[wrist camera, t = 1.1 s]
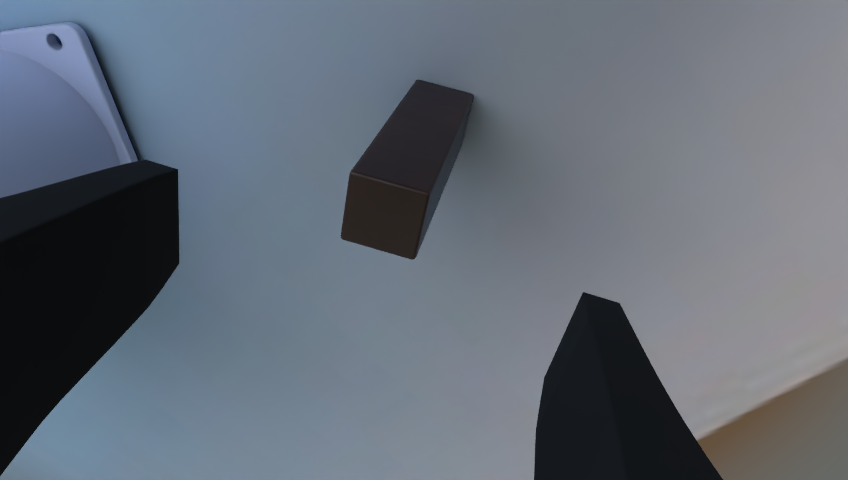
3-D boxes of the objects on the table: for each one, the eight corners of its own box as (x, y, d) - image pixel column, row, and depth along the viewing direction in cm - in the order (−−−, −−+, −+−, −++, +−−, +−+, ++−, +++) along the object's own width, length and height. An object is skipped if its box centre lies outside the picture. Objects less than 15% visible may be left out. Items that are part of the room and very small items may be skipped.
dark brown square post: (405, 132, 20) (339, 240, 14) (416, 78, 19) (348, 171, 13) (461, 147, 20) (414, 261, 14) (474, 93, 19) (430, 193, 13)
